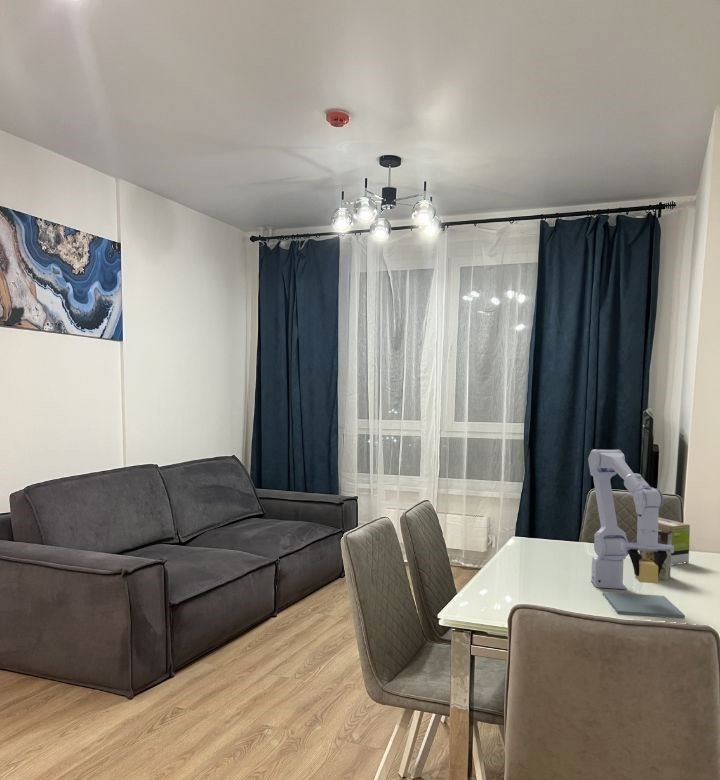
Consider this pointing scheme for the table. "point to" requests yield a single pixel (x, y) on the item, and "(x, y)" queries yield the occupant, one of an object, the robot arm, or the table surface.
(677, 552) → the tea box
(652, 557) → the coffee box
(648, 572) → the mustard cube
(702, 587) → the table surface
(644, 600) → the slate mat
